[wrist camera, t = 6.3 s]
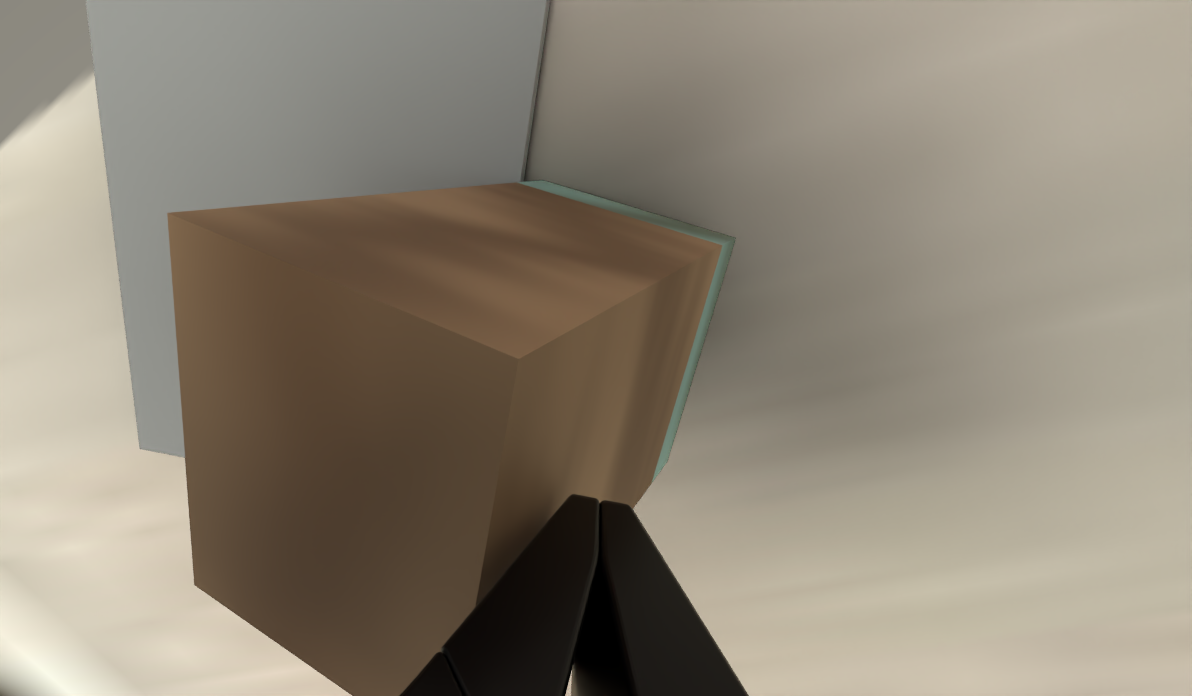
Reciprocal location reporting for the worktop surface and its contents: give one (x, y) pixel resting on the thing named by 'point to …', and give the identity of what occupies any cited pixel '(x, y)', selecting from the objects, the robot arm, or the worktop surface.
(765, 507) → the worktop surface
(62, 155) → the worktop surface
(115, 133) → the mat
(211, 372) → the walnut block
